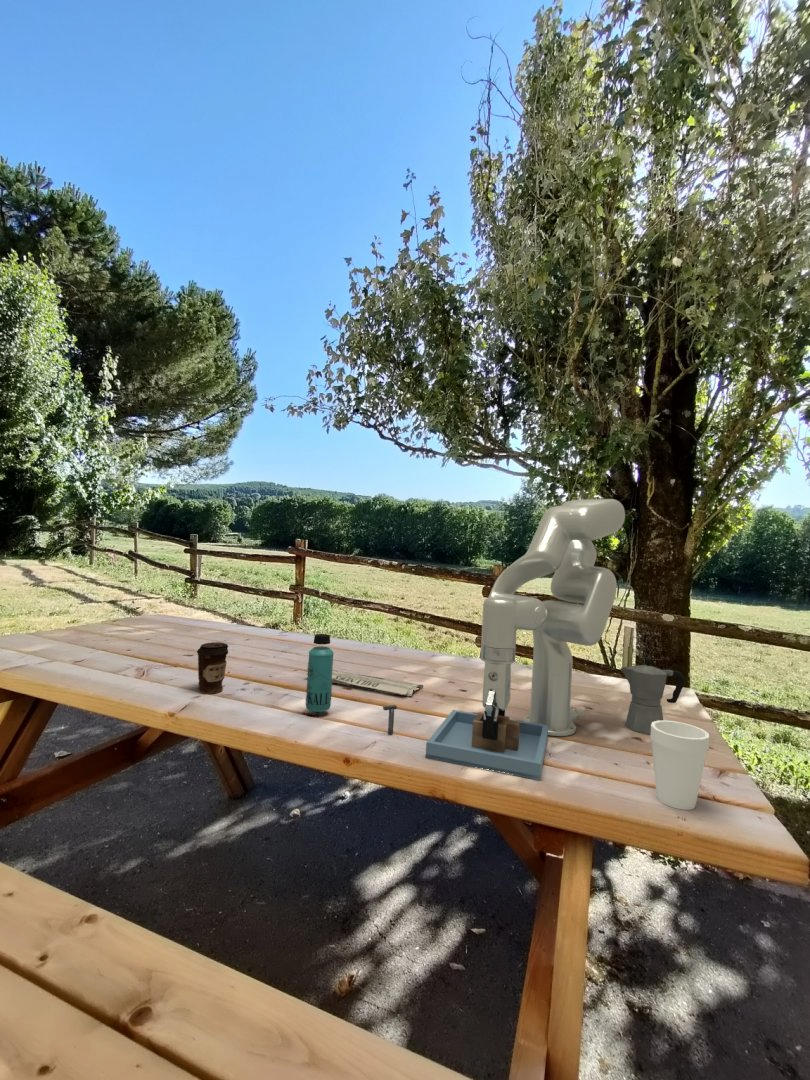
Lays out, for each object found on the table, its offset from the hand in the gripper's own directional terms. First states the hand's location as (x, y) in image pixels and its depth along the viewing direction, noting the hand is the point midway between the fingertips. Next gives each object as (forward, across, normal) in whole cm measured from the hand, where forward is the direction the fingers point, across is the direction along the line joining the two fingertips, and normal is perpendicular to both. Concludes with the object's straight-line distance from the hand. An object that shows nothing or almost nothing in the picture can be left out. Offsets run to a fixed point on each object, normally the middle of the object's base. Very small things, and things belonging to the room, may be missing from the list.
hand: (493, 731), depth 113 cm
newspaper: (+5, +30, +45) cm, 54 cm away
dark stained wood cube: (+3, 0, -1) cm, 3 cm away
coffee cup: (+4, +4, +79) cm, 79 cm away
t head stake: (+4, -3, +23) cm, 24 cm away
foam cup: (+4, -8, -35) cm, 36 cm away
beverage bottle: (+4, +1, +44) cm, 45 cm away
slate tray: (+4, 0, 0) cm, 4 cm away
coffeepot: (+4, +31, -35) cm, 47 cm away
